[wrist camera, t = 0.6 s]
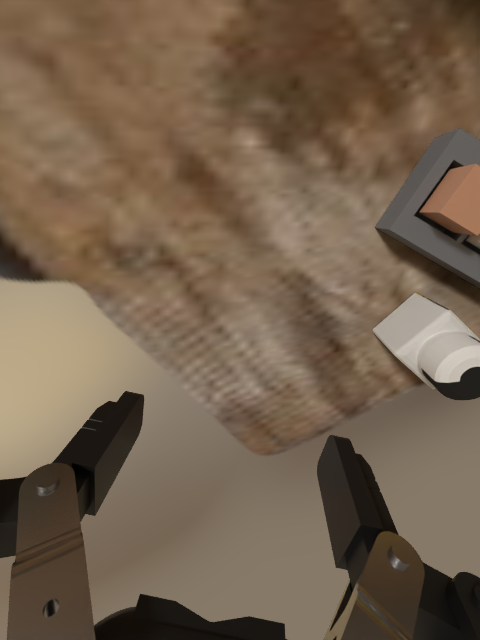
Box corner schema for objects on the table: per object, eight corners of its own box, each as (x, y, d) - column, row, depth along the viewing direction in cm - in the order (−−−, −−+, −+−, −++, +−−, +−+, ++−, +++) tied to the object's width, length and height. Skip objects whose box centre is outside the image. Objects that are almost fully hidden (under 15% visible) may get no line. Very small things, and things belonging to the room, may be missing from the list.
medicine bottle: (450, 325, 36) (534, 376, 25) (405, 361, 39) (463, 421, 28) (415, 290, 35) (486, 328, 24) (370, 329, 37) (416, 380, 26)
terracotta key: (450, 169, 27) (476, 163, 24) (485, 191, 28) (515, 189, 24) (419, 212, 29) (439, 212, 25) (453, 233, 29) (477, 235, 26)
